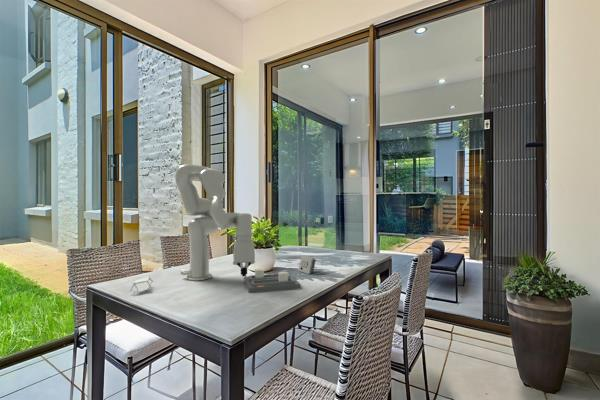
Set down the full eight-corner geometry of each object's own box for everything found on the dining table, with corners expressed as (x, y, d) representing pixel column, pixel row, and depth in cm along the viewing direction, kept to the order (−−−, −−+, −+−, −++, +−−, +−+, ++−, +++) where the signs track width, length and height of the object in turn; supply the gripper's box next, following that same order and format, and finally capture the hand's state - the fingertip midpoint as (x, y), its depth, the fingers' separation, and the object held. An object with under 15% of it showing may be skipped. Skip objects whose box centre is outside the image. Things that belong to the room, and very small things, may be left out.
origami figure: (148, 294, 136) (148, 283, 136) (128, 294, 135) (128, 283, 135) (159, 286, 148) (159, 275, 148) (141, 286, 147) (140, 276, 147)
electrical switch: (297, 271, 176) (299, 255, 177) (304, 270, 180) (305, 254, 180) (308, 274, 169) (310, 257, 170) (315, 274, 173) (317, 257, 173)
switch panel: (248, 292, 138) (248, 286, 138) (244, 280, 157) (244, 274, 157) (300, 288, 145) (300, 282, 145) (289, 277, 164) (289, 271, 164)
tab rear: (256, 279, 152) (256, 270, 151) (255, 277, 155) (255, 269, 155) (264, 279, 153) (264, 270, 153) (262, 277, 156) (262, 268, 156)
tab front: (279, 283, 146) (279, 273, 146) (278, 281, 149) (278, 272, 149) (288, 282, 147) (288, 273, 147) (286, 280, 150) (286, 271, 150)
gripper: (228, 240, 145) (228, 279, 146) (260, 239, 150) (260, 276, 150) (227, 238, 153) (227, 275, 153) (257, 237, 157) (257, 273, 157)
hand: (243, 275), depth 151 cm, fingers closed
